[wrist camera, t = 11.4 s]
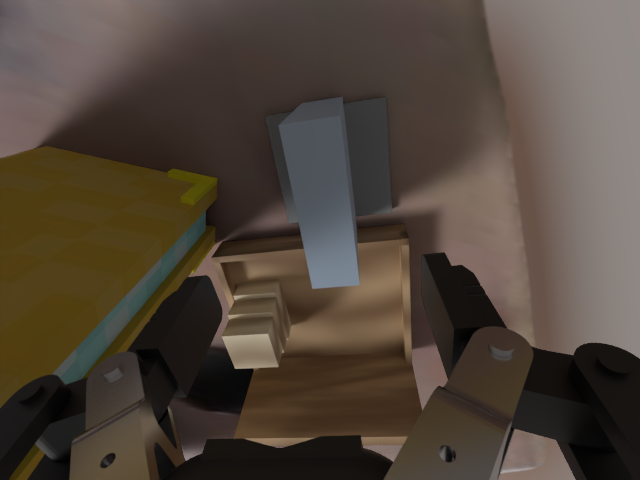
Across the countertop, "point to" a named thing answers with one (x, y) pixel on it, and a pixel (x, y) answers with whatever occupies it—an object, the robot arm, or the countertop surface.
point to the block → (323, 190)
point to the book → (88, 260)
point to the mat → (350, 157)
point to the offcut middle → (260, 313)
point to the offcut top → (253, 342)
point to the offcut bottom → (265, 296)
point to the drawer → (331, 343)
